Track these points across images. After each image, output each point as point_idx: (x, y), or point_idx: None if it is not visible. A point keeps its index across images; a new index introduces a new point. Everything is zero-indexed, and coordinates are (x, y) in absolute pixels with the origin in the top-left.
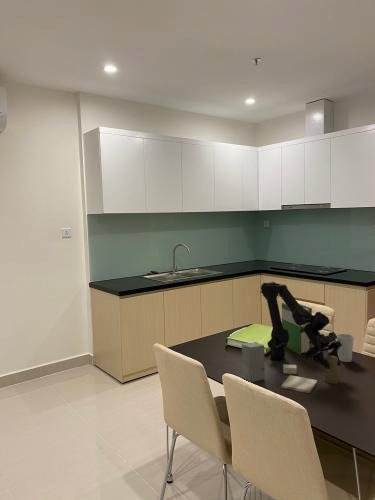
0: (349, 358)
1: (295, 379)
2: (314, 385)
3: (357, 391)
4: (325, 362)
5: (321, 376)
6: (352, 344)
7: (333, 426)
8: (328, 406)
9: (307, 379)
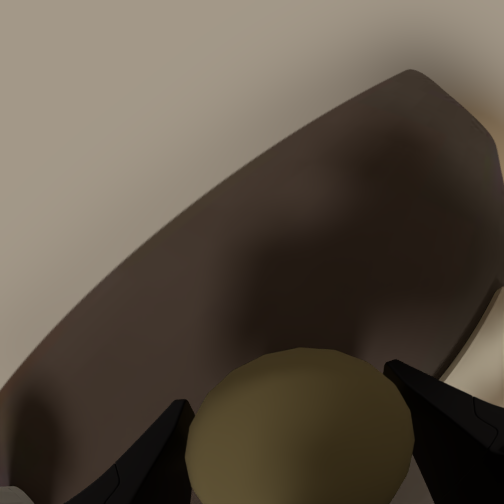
0: (10, 491)
1: None
2: (455, 361)
3: (255, 221)
4: (455, 390)
5: None
6: None
7: (459, 116)
8: (456, 174)
9: None
